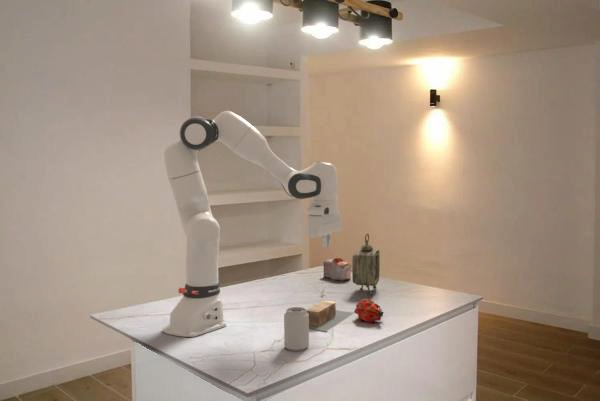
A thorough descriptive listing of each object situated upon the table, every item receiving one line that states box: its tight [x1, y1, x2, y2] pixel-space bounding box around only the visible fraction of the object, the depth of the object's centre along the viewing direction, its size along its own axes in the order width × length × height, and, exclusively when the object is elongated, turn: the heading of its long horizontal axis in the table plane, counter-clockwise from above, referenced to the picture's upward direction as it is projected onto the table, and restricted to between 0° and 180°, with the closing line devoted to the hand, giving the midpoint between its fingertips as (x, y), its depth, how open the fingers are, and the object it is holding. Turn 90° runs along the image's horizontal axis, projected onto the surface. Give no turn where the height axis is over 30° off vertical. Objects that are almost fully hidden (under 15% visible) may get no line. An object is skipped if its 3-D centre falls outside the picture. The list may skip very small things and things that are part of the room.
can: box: [283, 306, 310, 352], centre depth 172 cm, size 8×8×12 cm
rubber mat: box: [309, 309, 354, 333], centre depth 200 cm, size 24×14×1 cm, turn 152°
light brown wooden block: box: [306, 300, 337, 326], centre depth 198 cm, size 5×5×14 cm
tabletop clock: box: [351, 233, 381, 296], centre depth 238 cm, size 14×9×25 cm, turn 162°
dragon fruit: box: [353, 298, 384, 325], centre depth 197 cm, size 8×8×12 cm
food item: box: [323, 257, 352, 282], centre depth 264 cm, size 14×8×10 cm, turn 46°
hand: (325, 246), depth 199 cm, fingers closed
